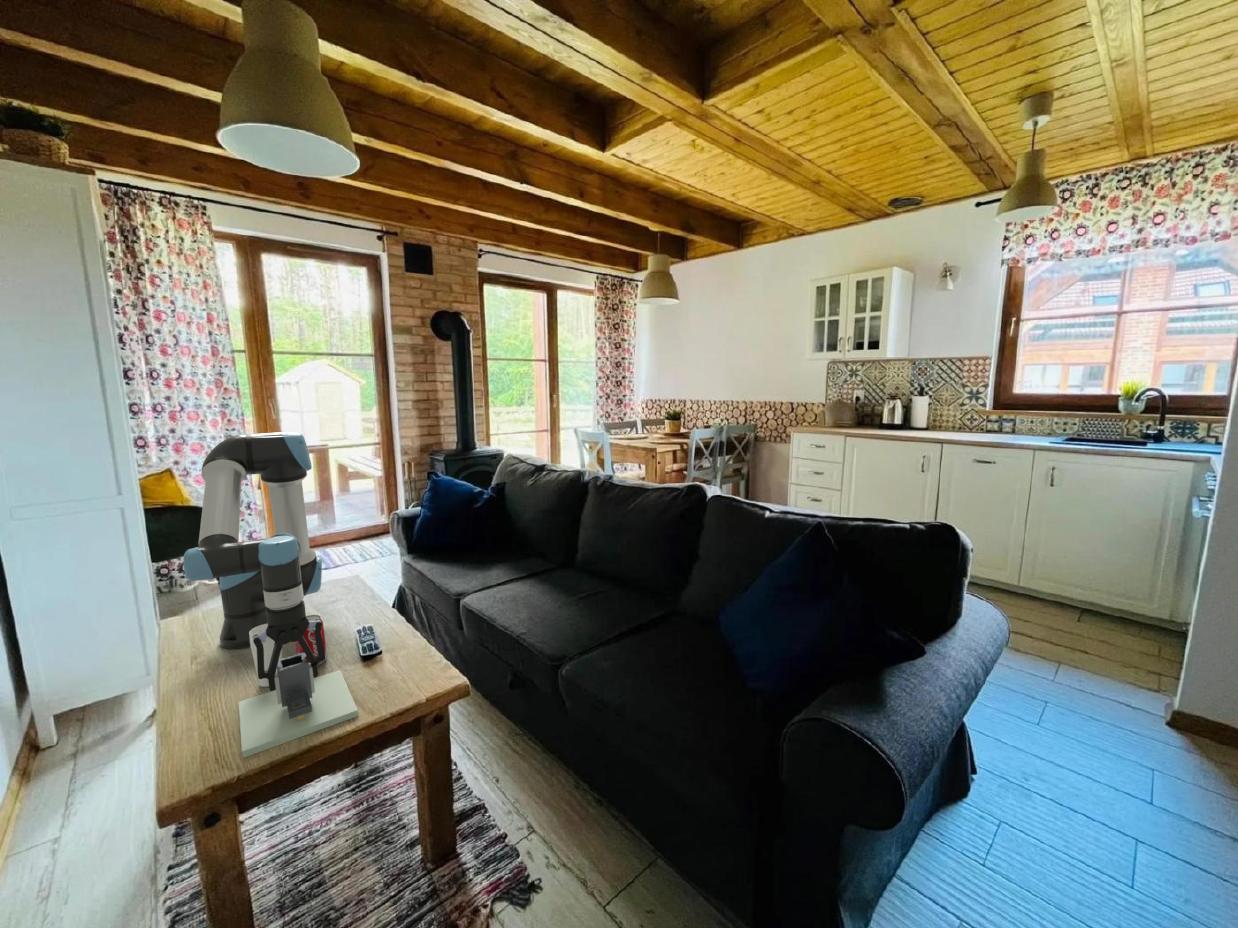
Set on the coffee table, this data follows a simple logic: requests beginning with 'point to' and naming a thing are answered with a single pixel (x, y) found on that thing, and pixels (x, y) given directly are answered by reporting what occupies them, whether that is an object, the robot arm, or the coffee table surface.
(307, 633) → the soda can
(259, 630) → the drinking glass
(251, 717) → the post board
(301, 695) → the square collar
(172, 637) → the coffee table surface
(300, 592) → the robot arm
